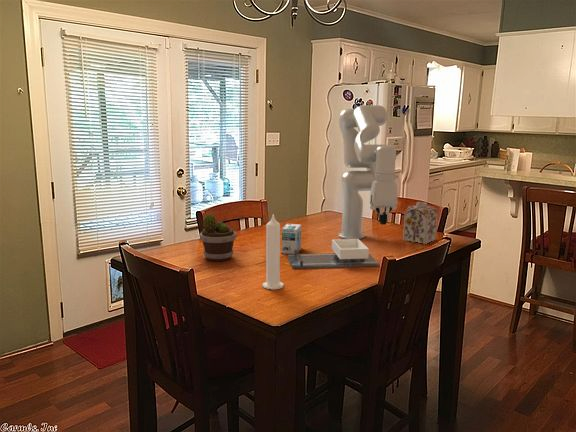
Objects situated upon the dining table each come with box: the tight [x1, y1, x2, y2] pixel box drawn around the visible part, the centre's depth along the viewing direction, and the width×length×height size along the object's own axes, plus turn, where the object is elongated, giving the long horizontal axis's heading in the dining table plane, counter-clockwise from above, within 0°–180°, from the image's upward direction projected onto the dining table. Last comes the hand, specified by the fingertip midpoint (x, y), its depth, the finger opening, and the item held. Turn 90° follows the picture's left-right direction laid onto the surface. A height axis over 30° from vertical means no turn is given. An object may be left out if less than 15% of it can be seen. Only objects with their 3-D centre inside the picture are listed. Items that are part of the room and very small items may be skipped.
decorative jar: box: [402, 201, 438, 245], centre depth 225 cm, size 12×12×18 cm
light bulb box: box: [281, 223, 302, 255], centre depth 206 cm, size 11×7×11 cm, turn 168°
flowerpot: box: [199, 210, 238, 262], centre depth 194 cm, size 14×15×20 cm
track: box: [286, 250, 380, 270], centre depth 192 cm, size 16×34×3 cm, turn 97°
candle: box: [262, 213, 284, 291], centre depth 162 cm, size 7×7×25 cm
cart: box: [331, 238, 370, 263], centre depth 193 cm, size 15×11×6 cm
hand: (382, 223), depth 191 cm, fingers closed
